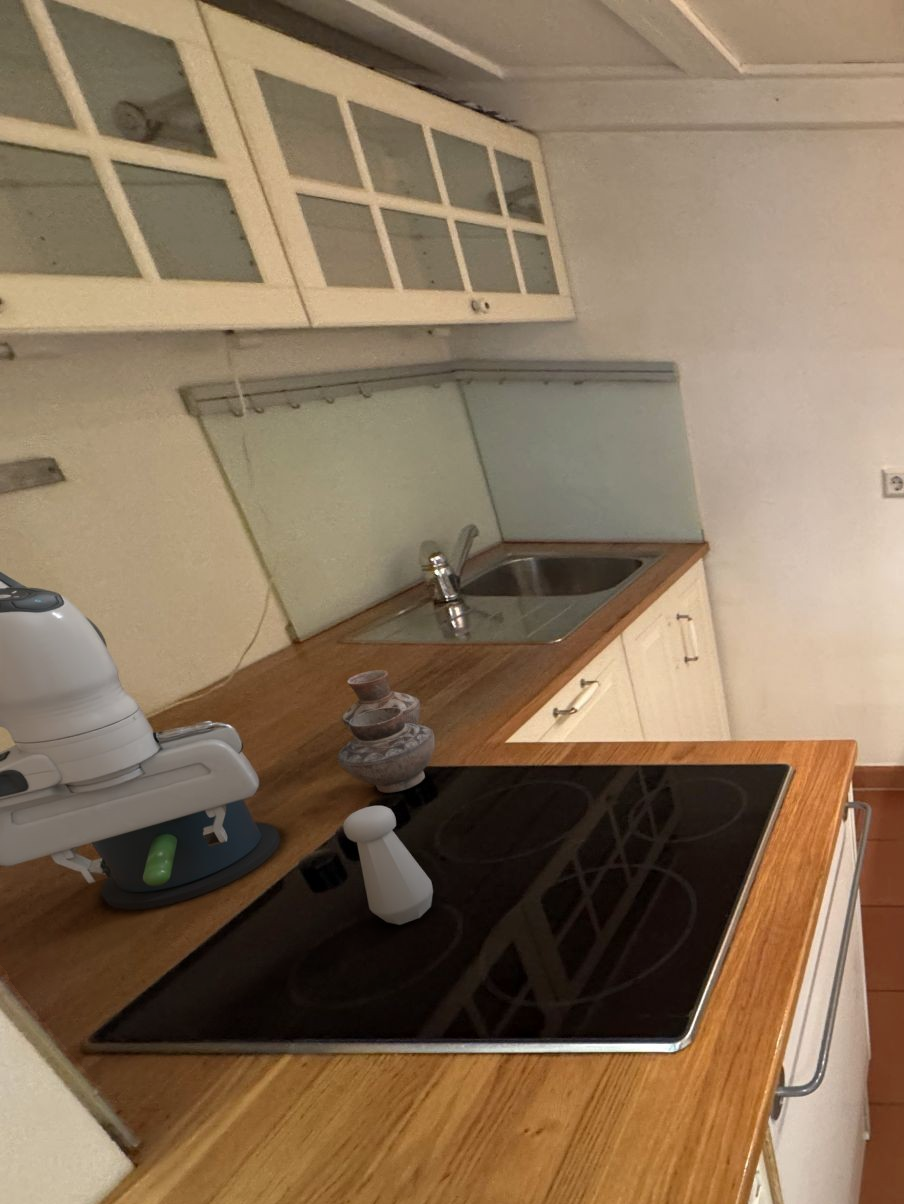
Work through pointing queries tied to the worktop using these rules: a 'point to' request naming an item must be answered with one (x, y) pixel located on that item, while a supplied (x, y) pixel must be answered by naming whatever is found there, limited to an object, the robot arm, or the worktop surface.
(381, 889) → the salt shaker
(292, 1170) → the worktop surface
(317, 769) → the worktop surface
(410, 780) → the pottery
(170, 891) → the trivet
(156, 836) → the pot
